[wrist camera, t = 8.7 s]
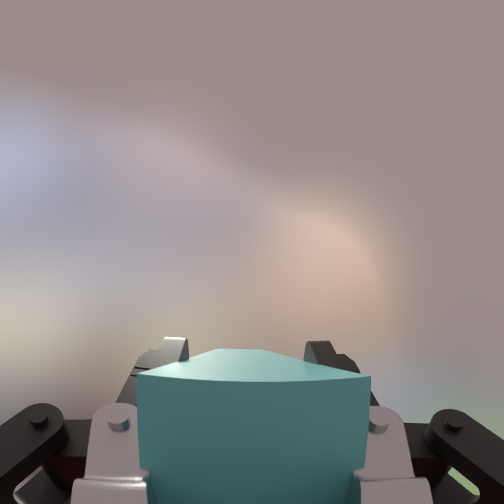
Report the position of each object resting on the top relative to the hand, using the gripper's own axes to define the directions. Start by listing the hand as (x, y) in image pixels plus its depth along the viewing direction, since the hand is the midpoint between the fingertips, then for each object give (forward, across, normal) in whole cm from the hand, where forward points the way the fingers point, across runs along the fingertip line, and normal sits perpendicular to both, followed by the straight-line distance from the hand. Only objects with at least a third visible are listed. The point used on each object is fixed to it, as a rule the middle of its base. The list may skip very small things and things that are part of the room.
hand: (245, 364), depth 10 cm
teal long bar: (+3, 0, +6) cm, 7 cm away
